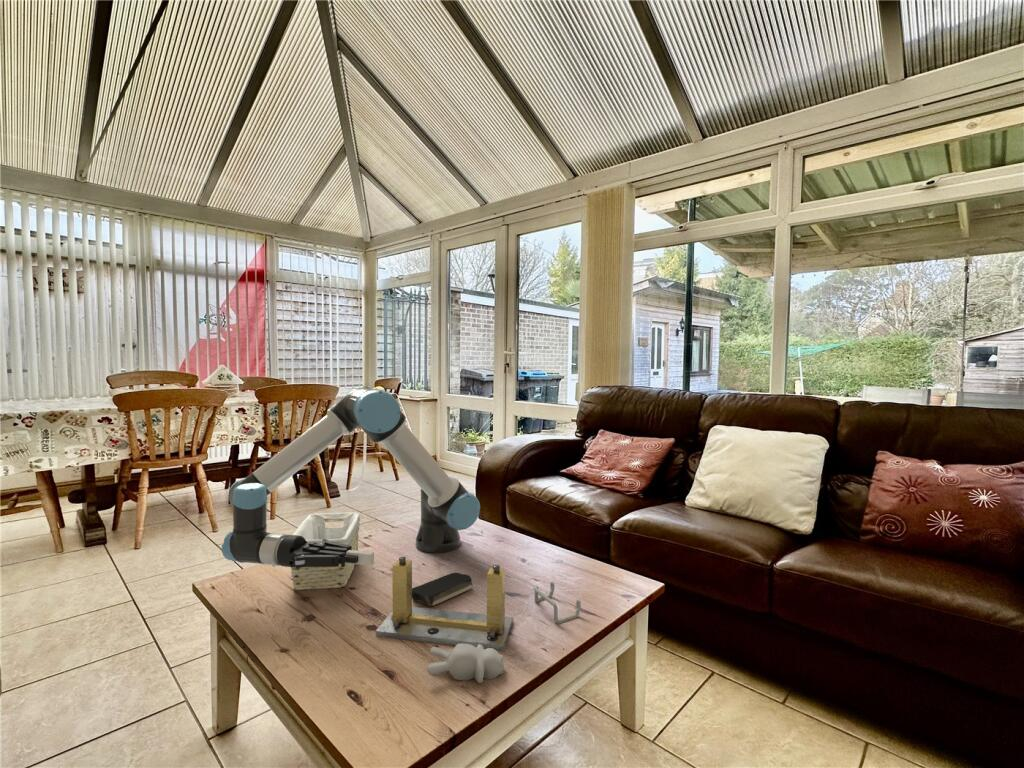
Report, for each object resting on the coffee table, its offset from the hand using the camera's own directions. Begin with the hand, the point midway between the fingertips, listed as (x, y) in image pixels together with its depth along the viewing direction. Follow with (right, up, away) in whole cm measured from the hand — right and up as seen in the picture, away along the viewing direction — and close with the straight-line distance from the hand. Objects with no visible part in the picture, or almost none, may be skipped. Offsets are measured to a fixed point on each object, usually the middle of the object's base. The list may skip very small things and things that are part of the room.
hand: (372, 558), depth 118 cm
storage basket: (-21, -14, +27) cm, 37 cm away
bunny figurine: (+24, -17, -19) cm, 35 cm away
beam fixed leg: (+18, -15, -3) cm, 24 cm away
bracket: (+45, -16, +7) cm, 48 cm away
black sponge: (+15, -15, +15) cm, 26 cm away
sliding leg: (+7, -14, -1) cm, 16 cm away
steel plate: (+18, -16, -2) cm, 24 cm away
